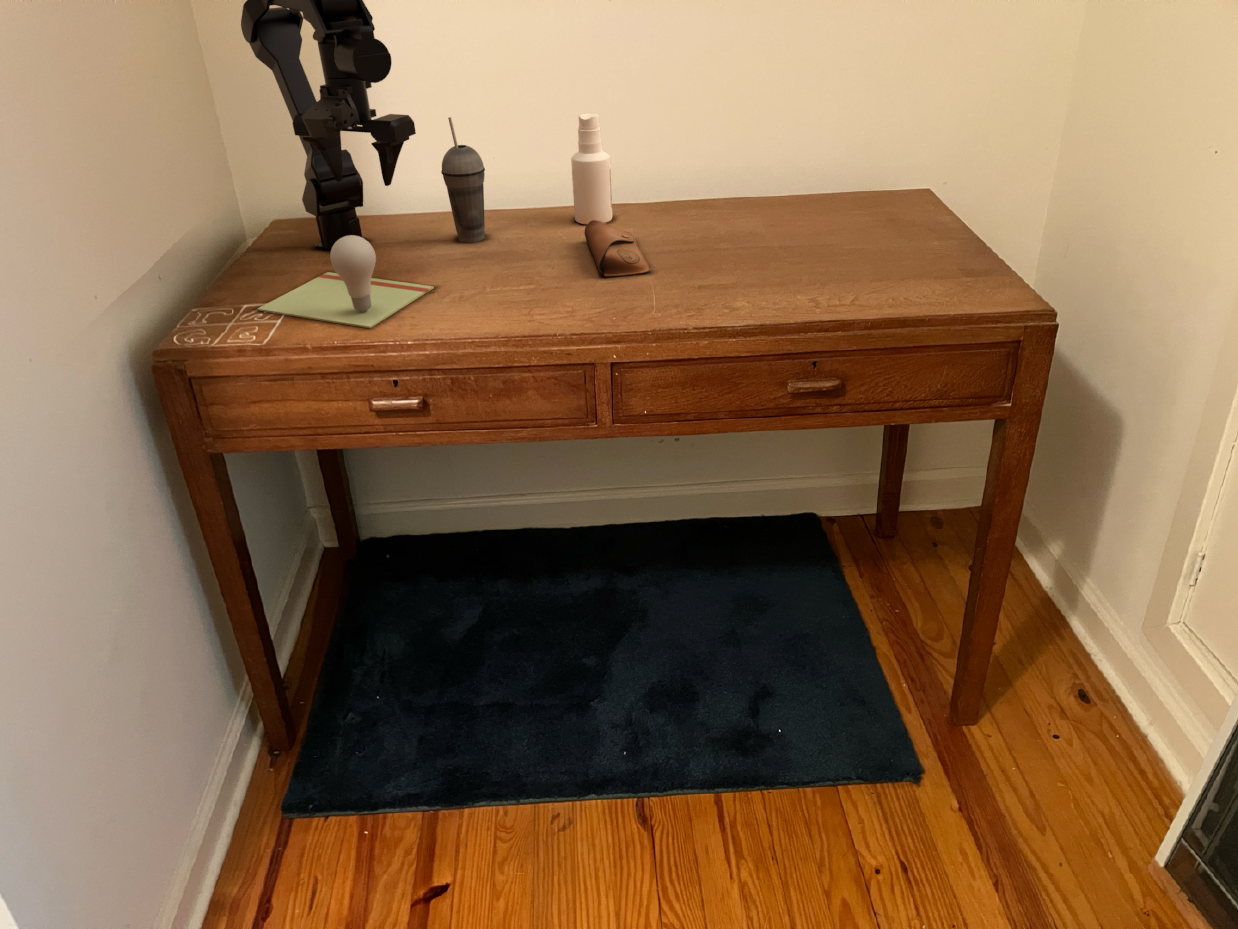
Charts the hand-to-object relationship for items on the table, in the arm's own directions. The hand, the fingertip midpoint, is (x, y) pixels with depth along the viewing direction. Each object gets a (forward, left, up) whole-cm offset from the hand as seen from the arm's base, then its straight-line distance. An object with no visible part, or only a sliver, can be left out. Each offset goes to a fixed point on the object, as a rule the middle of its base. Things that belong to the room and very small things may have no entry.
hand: (363, 183), depth 142 cm
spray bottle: (+24, +32, -13) cm, 42 cm away
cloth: (+5, -14, -13) cm, 20 cm away
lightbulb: (+11, -18, -13) cm, 25 cm away
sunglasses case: (+36, +15, -13) cm, 41 cm away
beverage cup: (+8, +16, -13) cm, 22 cm away
